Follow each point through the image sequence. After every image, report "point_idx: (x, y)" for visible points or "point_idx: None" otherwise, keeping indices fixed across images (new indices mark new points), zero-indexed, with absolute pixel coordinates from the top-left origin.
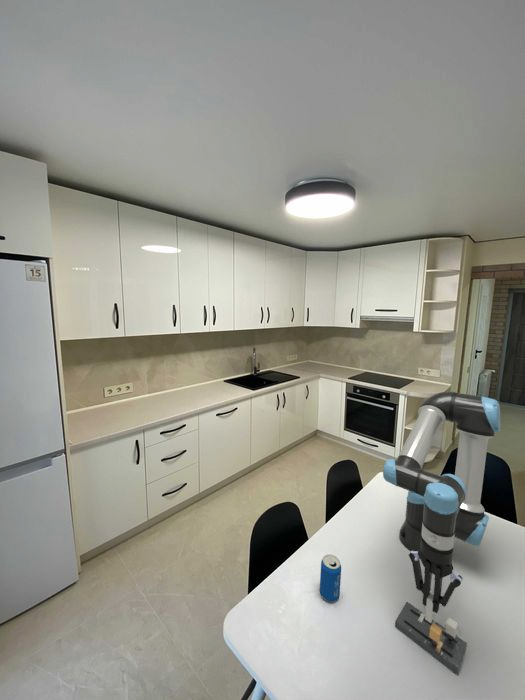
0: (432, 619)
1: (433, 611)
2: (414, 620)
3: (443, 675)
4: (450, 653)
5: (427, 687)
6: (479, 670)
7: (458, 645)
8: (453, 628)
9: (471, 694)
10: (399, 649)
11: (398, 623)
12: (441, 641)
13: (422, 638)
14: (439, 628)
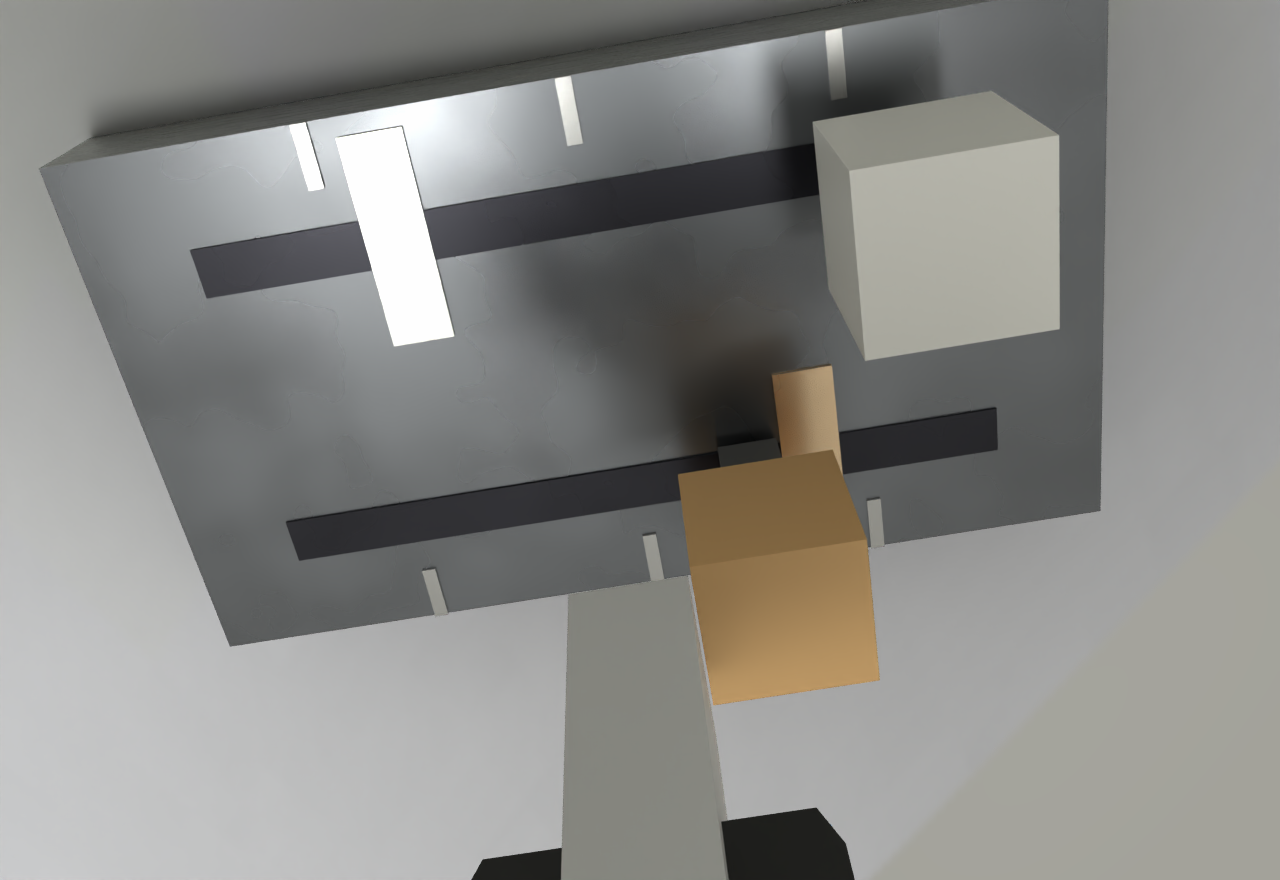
0: (702, 662)
1: (717, 781)
2: (367, 395)
3: (937, 591)
4: (960, 405)
5: (863, 815)
6: (1273, 130)
7: None
8: (1014, 335)
9: (1227, 514)
10: (480, 753)
11: (279, 638)
12: (802, 346)
13: (604, 546)
14: (826, 575)
